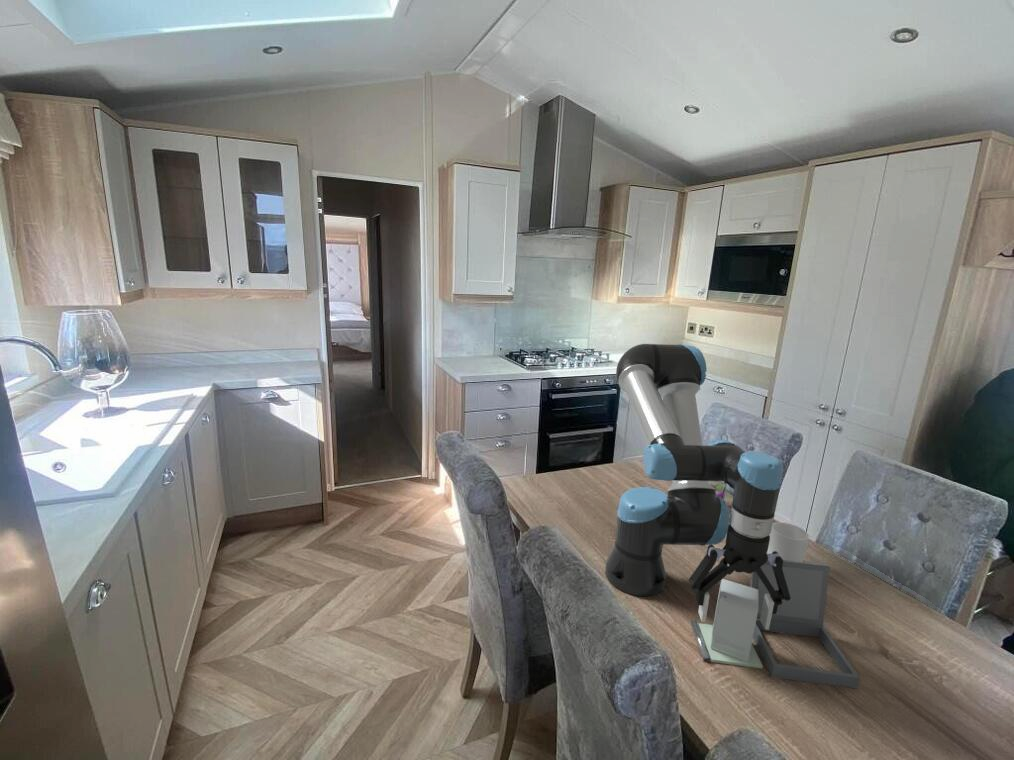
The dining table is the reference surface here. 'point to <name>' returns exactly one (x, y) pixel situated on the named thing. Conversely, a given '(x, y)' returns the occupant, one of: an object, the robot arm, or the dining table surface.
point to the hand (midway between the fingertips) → (732, 620)
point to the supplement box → (735, 619)
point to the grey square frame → (800, 673)
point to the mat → (724, 658)
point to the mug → (788, 541)
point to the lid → (797, 591)
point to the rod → (699, 640)
